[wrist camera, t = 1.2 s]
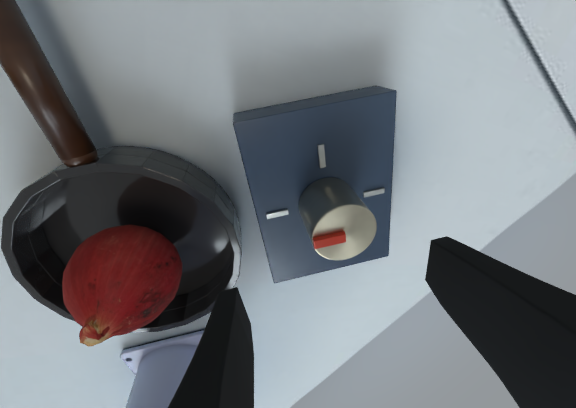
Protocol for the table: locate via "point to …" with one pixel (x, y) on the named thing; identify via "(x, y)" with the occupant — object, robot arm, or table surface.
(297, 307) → the table surface
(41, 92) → the skillet handle
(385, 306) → the table surface
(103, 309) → the red pomegranate
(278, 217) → the blue control panel
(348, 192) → the knob
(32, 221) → the skillet
